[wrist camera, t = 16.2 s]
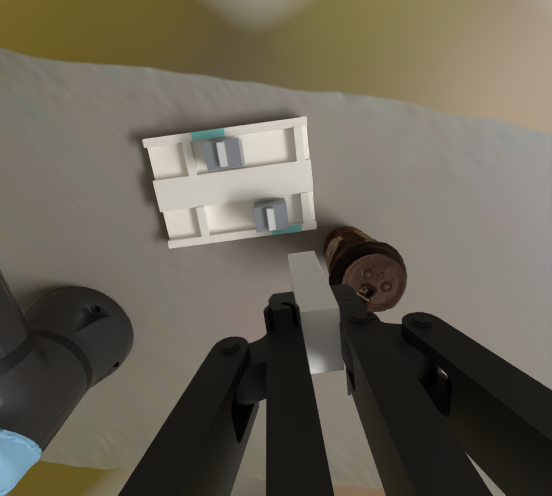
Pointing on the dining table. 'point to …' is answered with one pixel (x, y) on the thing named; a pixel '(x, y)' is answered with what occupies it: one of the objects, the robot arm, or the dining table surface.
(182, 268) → the dining table surface
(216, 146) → the tab
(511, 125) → the dining table surface
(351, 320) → the robot arm
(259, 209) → the tab
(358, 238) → the coffee cup
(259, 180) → the switch bank
